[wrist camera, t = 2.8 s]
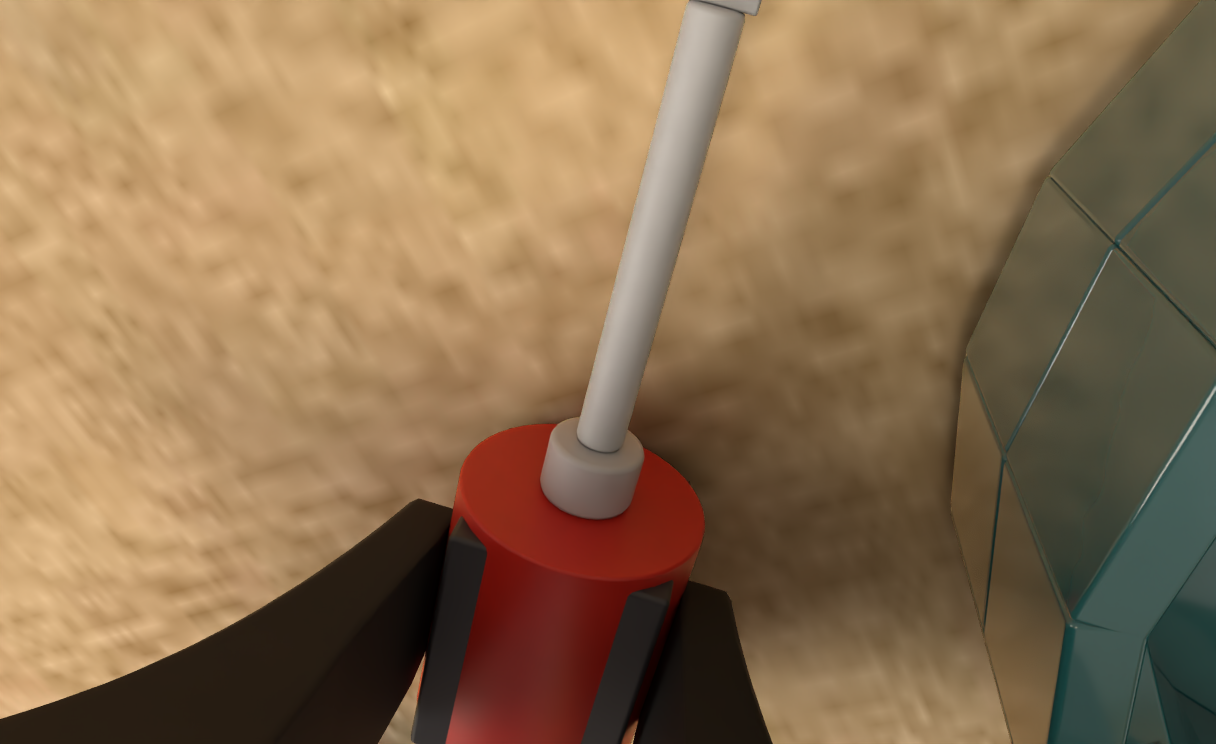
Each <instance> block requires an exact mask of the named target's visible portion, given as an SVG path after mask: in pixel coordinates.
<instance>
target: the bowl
mask: <svg viewBox="0 0 1216 744" xmlns="http://www.w3.org/2000/svg"><path fill="white" fill-rule="evenodd" d="M1049 175H1050V177H1047V178H1046V179H1045V180H1044V182H1043V184H1042V186H1041V188H1040V191H1039V193H1038V195H1037V197H1036V199H1035V201H1034V203H1033V206H1032V208H1031V210H1030V212H1029V214H1028V216H1027V218H1026V221H1025V223H1024V225H1023V227H1022V229H1021V231H1020V233H1019V236H1018V238H1017V240H1016V242H1015V244H1014V246H1013V248H1012V251H1011V253H1010V255H1009V257H1008V259H1007V261H1006V263H1005V266H1004V268H1003V270H1002V272H1001V274H1000V276H999V279H998V281H997V283H996V285H995V287H994V289H993V291H992V294H991V296H990V298H989V300H988V302H987V304H986V306H985V309H984V311H983V313H982V315H981V317H980V319H979V321H978V324H977V326H976V328H975V330H974V332H973V334H972V336H971V339H970V341H969V343H968V345H967V347H966V354H967V355H966V357H965V359H964V361H963V371H962V382H961V393H960V404H959V415H958V426H957V437H956V448H955V460H954V471H953V482H952V493H951V504H950V506H951V510H952V511H951V517H952V521H953V524H954V528H955V532H956V536H957V539H958V543H959V547H960V551H961V555H962V558H963V562H964V566H965V570H966V574H967V577H968V581H969V585H970V589H971V592H972V596H973V600H974V604H975V608H976V611H977V615H978V619H979V623H980V627H981V630H982V634H983V638H984V641H985V646H986V650H987V653H988V657H989V661H990V665H991V668H992V672H993V676H994V680H995V684H996V687H997V691H998V695H999V699H1000V703H1001V706H1002V710H1003V714H1004V718H1005V721H1006V725H1007V729H1008V733H1009V737H1010V740H1011V744H1216V0H1201V1H1200V2H1199V3H1198V4H1197V5H1196V6H1195V7H1194V8H1193V10H1192V11H1191V12H1190V13H1189V14H1188V15H1187V16H1186V18H1185V19H1184V20H1183V21H1182V22H1181V23H1180V24H1179V25H1178V27H1177V28H1176V29H1175V30H1174V31H1173V32H1172V33H1171V35H1170V36H1169V37H1168V38H1167V39H1166V40H1165V41H1164V43H1163V44H1162V45H1161V46H1160V47H1159V48H1158V49H1157V50H1156V52H1155V53H1154V54H1153V55H1152V56H1151V57H1150V58H1149V60H1148V61H1147V62H1146V63H1145V64H1144V65H1143V66H1142V67H1141V69H1140V70H1139V71H1138V72H1137V73H1136V74H1135V75H1134V77H1133V78H1132V79H1131V80H1130V81H1129V82H1128V83H1127V84H1126V86H1125V87H1124V88H1123V89H1122V90H1121V91H1120V92H1119V94H1118V95H1117V96H1116V97H1115V98H1114V99H1113V100H1112V101H1111V103H1110V104H1109V105H1108V106H1107V107H1106V108H1105V109H1104V111H1103V112H1102V113H1101V114H1100V115H1099V116H1098V117H1097V118H1096V120H1095V121H1094V122H1093V123H1092V124H1091V125H1090V126H1089V128H1088V129H1087V130H1086V131H1085V132H1084V133H1083V134H1082V135H1081V137H1080V138H1079V139H1078V140H1077V141H1076V142H1075V143H1074V145H1073V146H1072V147H1071V148H1070V149H1069V150H1068V151H1067V152H1066V154H1065V155H1064V156H1063V157H1062V158H1061V159H1060V160H1059V162H1058V163H1057V164H1056V165H1055V166H1054V167H1053V168H1052V170H1051V171H1050V174H1049Z"/></svg>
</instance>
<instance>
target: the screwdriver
mask: <svg viewBox="0 0 1216 744" xmlns="http://www.w3.org/2000/svg"><path fill="white" fill-rule="evenodd" d="M761 1H762V0H689V2H688V3H687V5H686V8H685V12H684V16H683V19H682V23H681V27H680V31H679V35H678V39H677V43H676V47H675V51H674V54H673V58H672V62H671V66H670V70H669V74H668V78H667V82H666V86H665V89H664V93H663V97H662V101H661V105H660V109H659V113H658V117H657V121H656V124H655V128H654V132H653V136H652V140H651V144H650V148H649V152H648V155H647V159H646V163H645V167H644V171H643V175H642V179H641V183H640V187H639V190H638V194H637V198H636V202H635V206H634V210H633V214H632V218H631V222H630V225H629V229H628V233H627V237H626V241H625V245H624V249H623V253H622V257H621V260H620V264H619V268H618V272H617V276H616V280H615V284H614V288H613V292H612V295H611V299H610V303H609V307H608V311H607V315H606V319H605V323H604V326H603V330H602V334H601V338H600V342H599V346H598V350H597V354H596V358H595V361H594V365H593V369H592V373H591V377H590V381H589V385H588V389H587V393H586V396H585V400H584V404H583V408H582V412H581V416H580V417H574V418H569V419H566V420H564V421H562V422H560V423H559V424H534V425H525V426H520V427H515V428H509V429H507V430H504V431H501V432H499V433H497V434H494V435H492V436H490V437H488V438H487V439H485V440H484V441H482V442H481V443H479V444H478V445H477V446H476V447H475V448H474V449H473V450H472V451H471V452H470V454H469V455H468V456H467V458H466V459H465V461H464V463H463V465H462V468H461V471H460V476H459V481H458V487H457V492H456V497H455V502H454V507H453V512H452V518H451V523H450V528H449V533H448V538H447V544H446V549H445V554H444V559H443V564H442V569H441V575H440V580H439V585H438V590H437V595H436V601H435V606H434V611H433V616H432V621H431V626H430V632H429V637H428V642H427V647H426V652H425V658H424V663H423V668H422V673H421V678H420V684H419V689H418V694H417V706H416V711H415V716H414V722H413V727H412V732H411V741H412V742H414V743H416V744H631V741H632V738H633V735H634V732H635V730H636V727H637V723H638V718H639V716H640V713H641V710H642V707H643V704H644V702H645V699H646V696H647V693H648V690H649V687H650V685H651V682H652V679H653V676H654V673H655V671H656V668H657V665H658V662H659V659H660V656H661V654H662V651H663V648H664V645H665V642H666V640H667V637H668V634H669V631H670V628H671V625H672V623H673V620H674V617H675V614H676V611H677V609H678V606H679V603H680V600H681V597H682V594H683V593H684V591H685V589H686V586H687V583H688V580H689V578H690V575H691V572H692V569H693V566H694V563H695V561H696V558H697V555H698V552H699V549H700V547H701V544H702V541H703V537H704V533H705V518H704V512H703V508H702V506H701V503H700V500H699V498H698V497H697V495H696V493H695V491H694V490H693V488H692V487H691V486H690V481H688V480H687V479H685V478H684V477H683V476H682V475H681V474H680V473H679V472H678V471H677V470H676V469H674V468H673V467H672V466H671V465H670V464H669V463H667V462H666V461H664V460H663V459H662V458H660V457H659V456H657V455H656V454H654V453H652V452H651V451H649V450H647V449H646V448H644V447H643V446H642V444H641V442H640V441H639V440H638V438H637V437H636V436H635V435H634V434H632V433H631V432H630V431H629V430H628V426H629V423H630V419H631V416H632V413H633V409H634V406H635V402H636V399H637V395H638V392H639V388H640V385H641V381H642V378H643V374H644V371H645V367H646V364H647V360H648V357H649V353H650V350H651V346H652V343H653V339H654V336H655V333H656V329H657V326H658V322H659V319H660V315H661V312H662V308H663V305H664V301H665V298H666V294H667V291H668V287H669V284H670V280H671V277H672V273H673V270H674V266H675V263H676V259H677V256H678V252H679V249H680V246H681V242H682V239H683V235H684V232H685V228H686V225H687V221H688V218H689V214H690V211H691V207H692V204H693V200H694V197H695V193H696V190H697V186H698V183H699V179H700V176H701V172H702V169H703V165H704V162H705V159H706V155H707V152H708V148H709V145H710V141H711V138H712V134H713V131H714V127H715V124H716V120H717V117H718V113H719V110H720V106H721V103H722V99H723V96H724V92H725V89H726V85H727V82H728V78H729V75H730V72H731V68H732V65H733V61H734V58H735V54H736V51H737V47H738V44H739V40H740V37H741V33H742V30H743V26H744V23H745V15H744V13H745V14H749V15H753V16H756V15H757V14H758V11H759V8H760V4H761Z"/></svg>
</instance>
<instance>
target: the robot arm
mask: <svg viewBox="0 0 1216 744" xmlns="http://www.w3.org/2000/svg"><path fill="white" fill-rule="evenodd" d="M452 512H453V509H451V508H448V507H445V506H442V505H438V504H435V503H432V502H428V501H425V500H422V499H417V500H414V501H412V502H410V503H409V504H408V505H406V506H405V507H404V508H403V509H401V510H400V511H399V512H398V513H397V514H395V515H394V516H393V517H392V518H390V519H389V520H388V521H387V522H385V523H384V524H383V525H382V526H380V527H379V528H378V529H377V530H375V531H374V532H373V533H371V534H370V535H369V536H367V537H366V538H365V539H363V540H362V541H361V542H359V543H358V544H357V545H355V546H354V547H353V548H351V549H350V550H349V551H347V552H346V553H344V554H343V555H341V556H340V557H339V558H337V559H336V560H334V561H333V562H331V563H330V564H329V565H327V566H326V567H324V568H323V569H321V570H320V571H319V572H317V573H316V574H314V575H313V576H311V577H310V578H308V579H307V580H305V581H304V582H302V583H301V584H299V585H297V586H296V587H294V588H293V589H291V590H289V591H288V592H286V593H284V594H283V595H281V596H280V597H278V598H276V599H275V600H273V601H272V602H270V603H268V604H267V605H265V606H264V607H262V608H260V609H259V610H257V611H255V612H254V613H252V614H250V615H248V616H246V617H245V618H243V619H241V620H239V621H238V622H236V623H234V624H232V625H230V626H228V627H227V628H225V629H223V630H221V631H219V632H217V633H215V634H213V635H211V636H209V637H207V638H205V639H203V640H201V641H200V642H198V643H196V644H194V645H192V646H190V647H187V648H185V649H183V650H181V651H179V652H177V653H174V654H172V655H170V656H168V657H166V658H163V659H161V660H159V661H157V662H155V663H152V664H150V665H148V666H146V667H144V668H141V669H139V670H137V671H134V672H132V673H130V674H127V675H125V676H123V677H120V678H118V679H115V680H113V681H110V682H108V683H105V684H103V685H100V686H97V687H94V688H91V689H89V690H86V691H83V692H80V693H78V694H75V695H72V696H69V697H66V698H64V699H61V700H58V701H55V702H52V703H49V704H46V705H43V706H40V707H37V708H34V709H31V710H28V711H25V712H22V713H19V714H15V715H12V716H9V717H6V718H2V719H0V744H378V742H379V741H380V739H381V737H382V735H383V734H384V732H385V730H386V728H387V726H388V725H389V723H390V721H391V719H392V718H393V716H394V714H395V712H396V711H397V709H398V707H399V705H400V703H401V702H402V700H403V698H404V696H405V695H406V693H407V691H408V689H409V687H410V686H411V684H412V681H413V679H414V677H415V675H416V672H417V670H418V668H419V665H420V663H421V661H422V658H423V656H424V654H425V651H426V647H427V642H428V637H429V632H430V626H431V621H432V616H433V611H434V606H435V601H436V595H437V590H438V585H439V580H440V575H441V569H442V564H443V559H444V554H445V549H446V544H447V538H448V533H449V528H450V523H451V518H452ZM633 744H773V743H772V741H771V738H770V735H769V733H768V730H767V727H766V724H765V721H764V718H763V715H762V713H761V710H760V707H759V704H758V701H757V698H756V695H755V692H754V689H753V686H752V682H751V679H750V676H749V672H748V669H747V665H746V662H745V658H744V655H743V651H742V647H741V643H740V639H739V635H738V631H737V627H736V622H735V617H734V612H733V607H732V601H731V599H730V597H729V596H728V594H727V592H725V591H722V590H719V589H715V588H712V587H709V586H706V585H702V584H699V583H696V582H692V581H689V580H688V583H687V586H686V589H685V591H684V593H683V594H682V597H681V600H680V603H679V606H678V609H677V611H676V614H675V617H674V620H673V623H672V625H671V628H670V631H669V634H668V637H667V640H666V642H665V645H664V648H663V651H662V654H661V656H660V659H659V662H658V665H657V668H656V671H655V673H654V676H653V679H652V682H651V685H650V687H649V690H648V693H647V696H646V699H645V702H644V704H643V707H642V710H641V713H640V716H639V718H638V723H637V728H636V732H635V737H634V741H633Z"/></svg>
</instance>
